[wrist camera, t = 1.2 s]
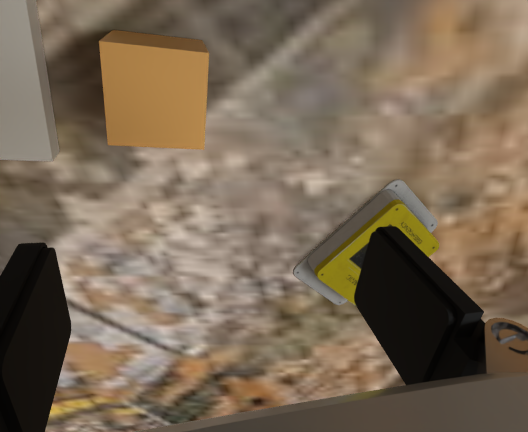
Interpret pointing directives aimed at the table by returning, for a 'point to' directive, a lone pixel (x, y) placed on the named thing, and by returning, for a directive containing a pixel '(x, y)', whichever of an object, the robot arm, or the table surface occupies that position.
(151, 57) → the tan wooden cube
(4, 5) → the board
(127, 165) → the table surface
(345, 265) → the emergency button
